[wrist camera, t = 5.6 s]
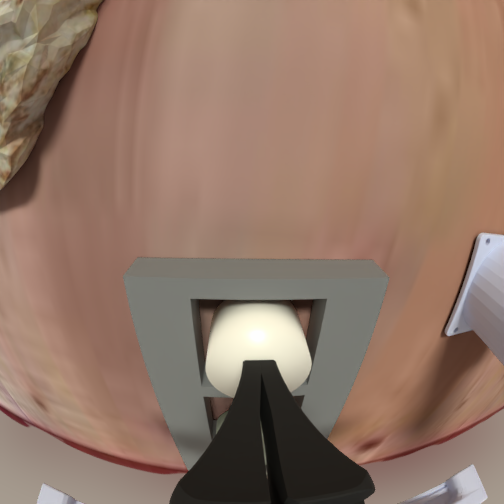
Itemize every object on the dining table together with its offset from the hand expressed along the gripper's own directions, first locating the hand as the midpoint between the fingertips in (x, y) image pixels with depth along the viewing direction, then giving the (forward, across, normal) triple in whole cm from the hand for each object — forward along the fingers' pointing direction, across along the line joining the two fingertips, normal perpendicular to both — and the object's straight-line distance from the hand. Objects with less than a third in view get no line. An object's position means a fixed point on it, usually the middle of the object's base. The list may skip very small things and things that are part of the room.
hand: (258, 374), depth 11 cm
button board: (+4, 0, +7) cm, 8 cm away
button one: (+4, 0, 0) cm, 4 cm away
